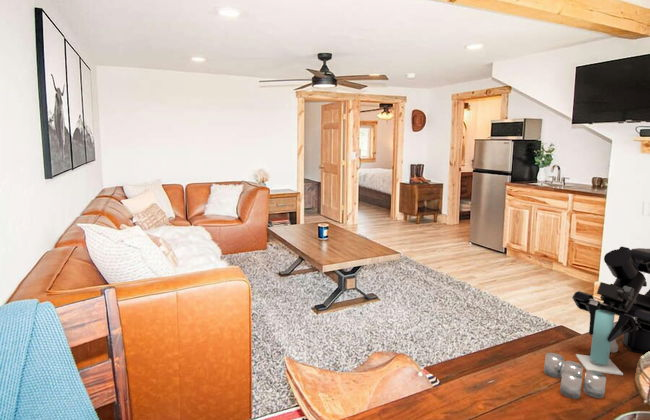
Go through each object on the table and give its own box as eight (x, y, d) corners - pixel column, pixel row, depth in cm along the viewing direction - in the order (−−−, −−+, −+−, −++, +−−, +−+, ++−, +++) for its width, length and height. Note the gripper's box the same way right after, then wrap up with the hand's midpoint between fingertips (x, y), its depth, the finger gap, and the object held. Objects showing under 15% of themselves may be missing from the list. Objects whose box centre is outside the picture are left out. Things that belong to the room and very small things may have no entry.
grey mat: (608, 359, 109) (608, 358, 109) (622, 375, 101) (623, 373, 101) (575, 355, 111) (575, 354, 111) (587, 370, 103) (587, 369, 103)
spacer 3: (599, 389, 95) (601, 371, 94) (607, 399, 91) (609, 381, 91) (580, 386, 96) (582, 369, 95) (587, 396, 92) (589, 378, 92)
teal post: (604, 357, 107) (610, 310, 105) (611, 364, 103) (617, 316, 101) (587, 355, 108) (593, 309, 106) (593, 362, 104) (599, 315, 102)
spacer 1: (559, 370, 103) (560, 353, 102) (564, 378, 99) (566, 361, 99) (541, 368, 104) (543, 351, 103) (546, 376, 100) (548, 359, 100)
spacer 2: (577, 378, 99) (579, 361, 99) (583, 388, 96) (585, 370, 95) (559, 376, 100) (561, 359, 100) (564, 385, 96) (566, 368, 96)
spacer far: (576, 389, 95) (578, 372, 94) (583, 400, 91) (585, 381, 90) (557, 387, 96) (559, 369, 95) (563, 397, 92) (565, 378, 91)
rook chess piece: (612, 346, 117) (615, 319, 115) (621, 353, 112) (625, 326, 111) (595, 345, 117) (599, 318, 116) (604, 352, 113) (608, 325, 111)
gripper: (579, 262, 112) (552, 308, 108) (661, 282, 96) (633, 336, 92) (591, 285, 117) (566, 329, 114) (671, 307, 102) (644, 359, 98)
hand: (599, 337), depth 104 cm, fingers closed on teal post, 4 cm apart
